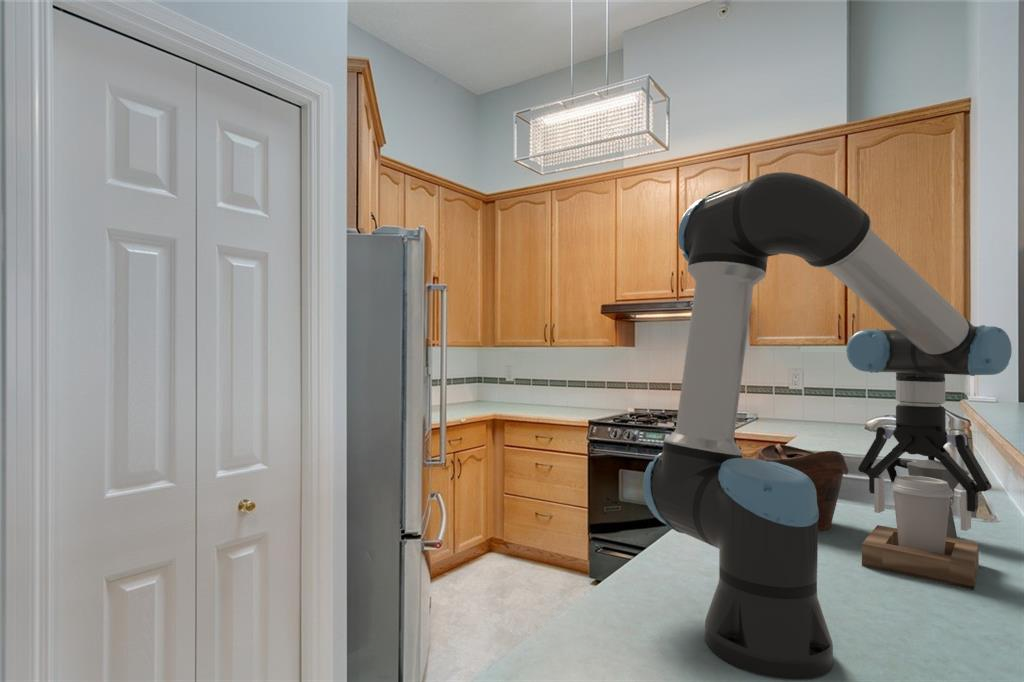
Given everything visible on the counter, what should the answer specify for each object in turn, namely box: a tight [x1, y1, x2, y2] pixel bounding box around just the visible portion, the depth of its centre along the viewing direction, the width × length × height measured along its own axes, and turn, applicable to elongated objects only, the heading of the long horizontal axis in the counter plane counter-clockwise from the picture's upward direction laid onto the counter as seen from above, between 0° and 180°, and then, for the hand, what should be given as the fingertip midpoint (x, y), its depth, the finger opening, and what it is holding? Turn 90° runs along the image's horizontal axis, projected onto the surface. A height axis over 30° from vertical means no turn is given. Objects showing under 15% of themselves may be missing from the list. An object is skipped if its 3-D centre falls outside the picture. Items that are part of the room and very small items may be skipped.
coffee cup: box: [889, 474, 954, 555], centre depth 106 cm, size 10×10×15 cm
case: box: [755, 442, 850, 532], centre depth 133 cm, size 18×20×18 cm
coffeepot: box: [886, 455, 970, 539], centre depth 126 cm, size 15×9×18 cm, turn 35°
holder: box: [861, 524, 979, 591], centre depth 106 cm, size 16×16×4 cm
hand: (920, 520), depth 106 cm, fingers open, 13 cm apart
